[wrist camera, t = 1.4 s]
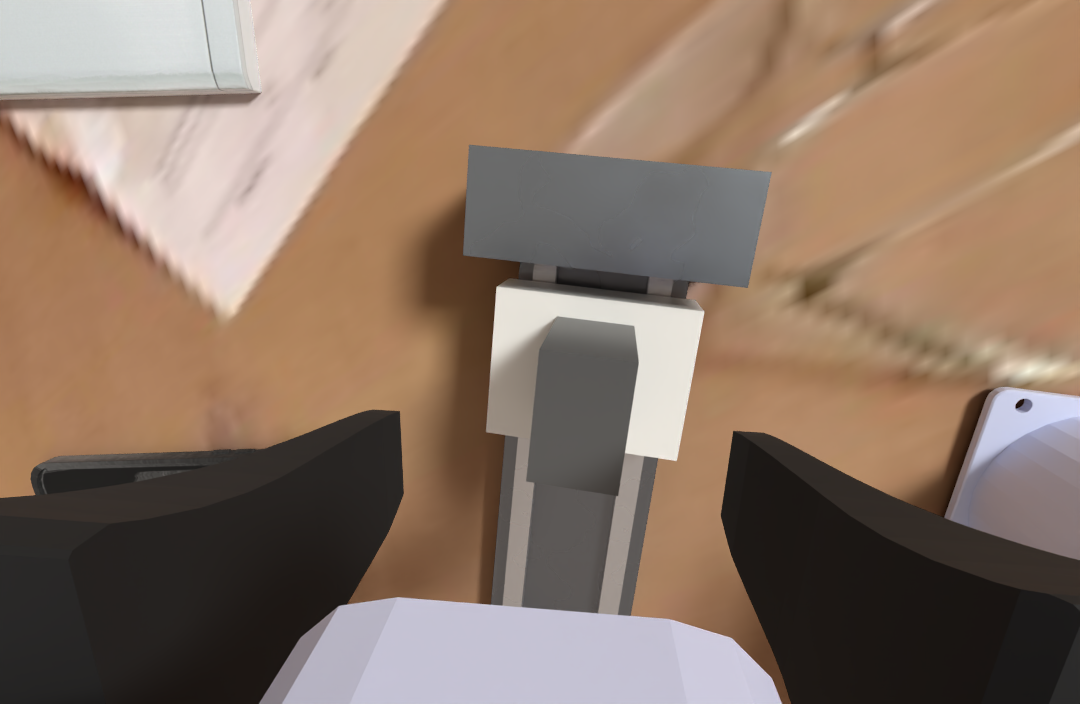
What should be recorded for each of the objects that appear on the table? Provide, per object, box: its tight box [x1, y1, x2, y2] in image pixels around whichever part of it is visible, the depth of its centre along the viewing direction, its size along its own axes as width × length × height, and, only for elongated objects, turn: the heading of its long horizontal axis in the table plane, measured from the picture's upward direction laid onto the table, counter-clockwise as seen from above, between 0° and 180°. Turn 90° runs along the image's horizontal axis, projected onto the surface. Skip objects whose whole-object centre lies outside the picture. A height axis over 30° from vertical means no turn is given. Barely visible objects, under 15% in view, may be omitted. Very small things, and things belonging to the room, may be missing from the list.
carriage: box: [486, 278, 704, 496], centre depth 16 cm, size 6×5×6 cm
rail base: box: [463, 145, 772, 616], centre depth 20 cm, size 8×30×6 cm, turn 175°
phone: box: [31, 449, 263, 495], centre depth 26 cm, size 8×1×15 cm
